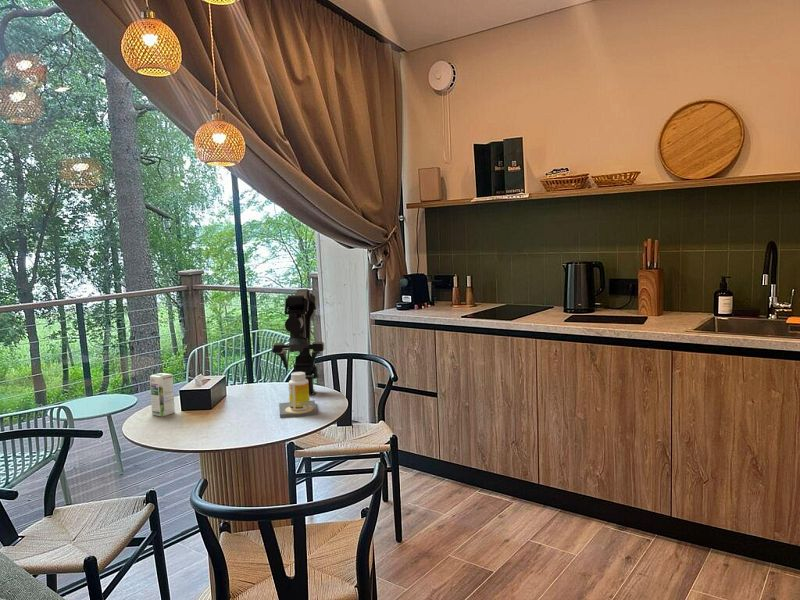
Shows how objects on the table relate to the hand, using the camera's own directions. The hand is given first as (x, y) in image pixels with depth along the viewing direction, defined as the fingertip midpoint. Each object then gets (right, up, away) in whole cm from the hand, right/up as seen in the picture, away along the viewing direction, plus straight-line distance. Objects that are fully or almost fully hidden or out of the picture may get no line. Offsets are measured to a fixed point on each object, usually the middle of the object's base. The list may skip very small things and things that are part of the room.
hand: (299, 369), depth 218 cm
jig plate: (+1, -14, -7) cm, 15 cm away
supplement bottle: (+2, -13, -10) cm, 16 cm away
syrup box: (-48, -15, -7) cm, 51 cm away
